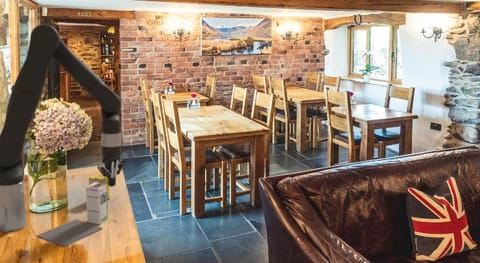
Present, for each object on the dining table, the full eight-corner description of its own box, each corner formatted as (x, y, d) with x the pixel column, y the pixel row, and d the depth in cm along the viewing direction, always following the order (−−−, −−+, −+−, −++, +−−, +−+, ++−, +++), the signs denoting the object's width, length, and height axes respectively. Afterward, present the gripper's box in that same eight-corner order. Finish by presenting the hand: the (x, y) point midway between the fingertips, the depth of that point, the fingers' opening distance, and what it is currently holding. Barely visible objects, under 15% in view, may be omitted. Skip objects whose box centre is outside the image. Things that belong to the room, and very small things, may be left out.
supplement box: (109, 199, 185) (109, 175, 183) (100, 204, 180) (100, 179, 177) (98, 197, 187) (97, 173, 185) (89, 201, 182) (88, 177, 179)
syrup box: (100, 224, 160) (99, 188, 157) (86, 222, 161) (85, 186, 158) (108, 218, 166) (107, 183, 163) (94, 216, 167) (93, 181, 164)
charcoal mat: (64, 246, 142) (64, 246, 142) (37, 236, 149) (37, 235, 149) (102, 228, 157) (102, 228, 157) (76, 219, 163) (76, 219, 163)
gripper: (116, 139, 172) (117, 179, 175) (91, 145, 160) (92, 188, 164) (130, 142, 168) (130, 183, 172) (105, 148, 157) (106, 192, 160)
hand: (111, 185), depth 168 cm, fingers closed
